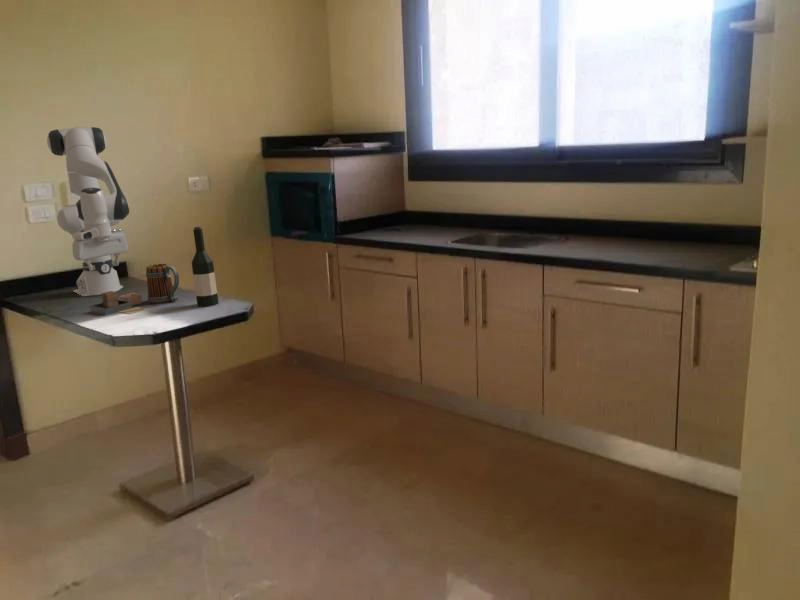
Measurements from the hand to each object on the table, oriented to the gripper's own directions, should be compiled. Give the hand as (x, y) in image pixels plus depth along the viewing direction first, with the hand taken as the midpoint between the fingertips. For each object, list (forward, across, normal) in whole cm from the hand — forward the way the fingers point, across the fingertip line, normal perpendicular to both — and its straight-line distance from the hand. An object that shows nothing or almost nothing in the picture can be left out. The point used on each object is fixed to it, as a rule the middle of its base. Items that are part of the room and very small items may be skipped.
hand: (104, 268), depth 255 cm
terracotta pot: (+17, -10, -3) cm, 20 cm away
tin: (+17, 0, 0) cm, 17 cm away
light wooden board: (+17, -4, +10) cm, 20 cm away
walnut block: (+17, 0, 0) cm, 17 cm away
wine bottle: (+17, -24, +28) cm, 41 cm away
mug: (+17, -19, +8) cm, 27 cm away
